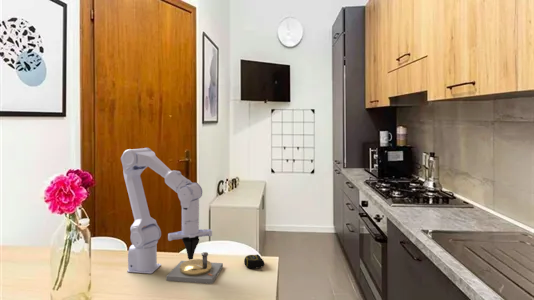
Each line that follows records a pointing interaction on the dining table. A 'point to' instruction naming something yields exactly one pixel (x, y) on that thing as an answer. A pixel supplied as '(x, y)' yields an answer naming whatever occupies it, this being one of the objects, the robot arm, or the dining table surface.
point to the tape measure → (253, 261)
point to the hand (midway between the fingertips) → (190, 258)
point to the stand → (205, 278)
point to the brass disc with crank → (196, 266)
